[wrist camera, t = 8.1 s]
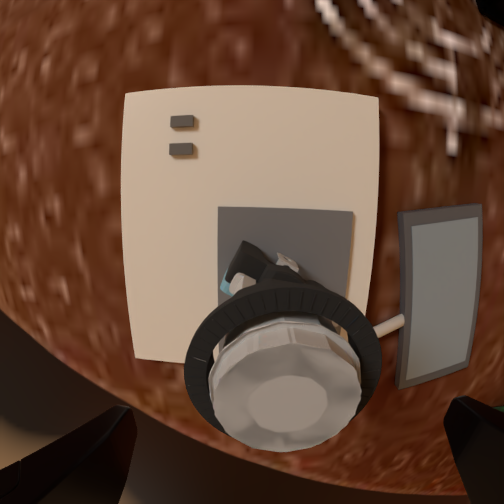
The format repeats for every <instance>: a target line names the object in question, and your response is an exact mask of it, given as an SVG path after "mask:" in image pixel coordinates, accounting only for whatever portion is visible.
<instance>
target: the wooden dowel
mask: <svg viewBox="0 0 504 504" xmlns="http://www.w3.org/2000/svg"><path fill="white" fill-rule="evenodd" d="M404 323H405V320H404V316H403V314H399V315H397V316H395V317H393V318H391V319H389V320H387V321H385V322H383V323H381V324H379V325H377V326H374V327H373V328H374V330H375V332H376V334H377V337H378V338H380V337H382V336H384V335H386V334H388V333H390V332H392V331H394V330H396V329H398V328H400V327H402V326H404Z"/></svg>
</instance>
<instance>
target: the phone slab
mask: <svg viewBox="0 0 504 504" xmlns="http://www.w3.org/2000/svg"><path fill="white" fill-rule="evenodd" d="M397 213H398V228H399V247H400V314H403V316H404V320H405V323H404V326H402V327H400V328H399V340H398V354H397V366H396V376H395V385H396V387H397V389H398V390H400V389H404V388H407V387H411V386H414V385H417V384H420V383H423V382H426V381H430V380H433V379H435V378H438V377H441V376H444V375H447V374H450V373H452V372H455V371H458V370H460V369H463V368H466V367H468V363H469V358H470V353H471V348H472V343H473V337H474V331H475V325H476V318H477V311H478V302H479V293H480V281H481V267H482V204H476V203H473V204H464V205H455V206H446V207H437V208H428V209H420V210H412V211H403V212H397Z"/></svg>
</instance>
